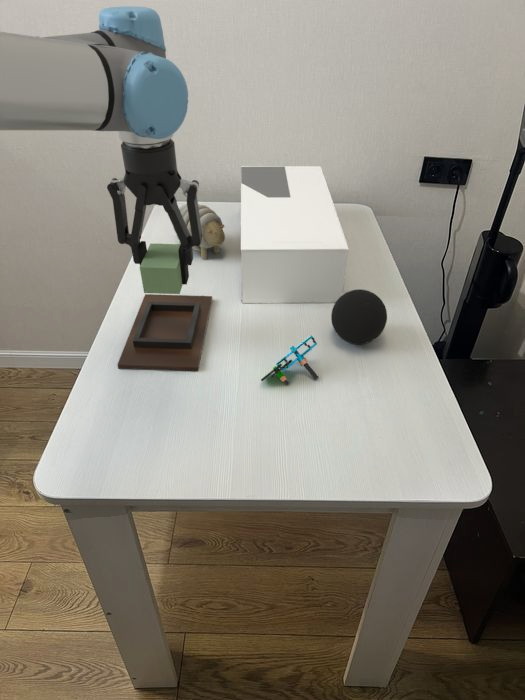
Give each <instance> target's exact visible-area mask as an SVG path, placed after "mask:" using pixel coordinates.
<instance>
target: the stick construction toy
mask: <svg viewBox="0 0 525 700" xmlns="http://www.w3.org/2000/svg"><path fill="white" fill-rule="evenodd" d="M310 340H312V343H313V344H312V345H310V344H308V343H307V342H309V341H310ZM303 345H304V346H305V347H307V349H305V351H303V352H302V353H300V352H299V351H298V350H299V349H300V348H301V347H302V346H303ZM317 345H318V343H317V341H316V339H315V337H313V335H309V337H307V338H306V339H305V340H303V341H302V342H301V343H299V345H297V346H296V347H295V346H294V345H291V346H290V347H289V350H290V352H288V353H287V354H286V355H285V356H283V357H282V358H281V359H280V360H279V361H277V362H276V363H275V366H273V367H272V370H271V371H269V372H268V373H267V374H265V375H264V376H263V377H262V378H261V379H260V381H261V382H263V381H265V380H266V379H268V377H270V376H271V378H273V377H275V376H277V377H278V378H279V380H280V381H281V382H282V383H284V384H285V386H287V385H289V384H290V382H289V381H288V377H286V376H285V374H284V372H286V371H287V369H289V368H290V367H292V366H293V365H294V364H295V363H297V362H298V364H299V365H300V366H301V367H304V368H305V370H307V372H308V373H309V374H310V375H311V377H312V378H313V379H314V380H315V381H316V380H317V379H319V375H318V374H317V373H316V372H315V371H314V369H313V368H312V367H311V366H310V364H309V363H308V362H309V360H308V359H307V357H305V355H307V354H308V353H309V352H311V351H312V350H313V349H314V348H315V347H316V346H317ZM293 354H294V356H295V357H296V358H295V359H294V360H293V359H289V360H287V359H288V358H289V357H290V356H291V355H293ZM282 362H285V363H284V364H283V363H282Z"/></svg>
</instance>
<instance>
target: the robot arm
mask: <svg viewBox="0 0 525 700" xmlns="http://www.w3.org/2000/svg"><path fill="white" fill-rule="evenodd" d="M166 52H167V47H166V45H165V38H164V32H163V26H162V21H161V17H160V15H159V14H158V12H157V11H156V10H154V9H152V8H150V7H146V6H135V5H134V6H127V5H126V6H124V5H123V6H111V7H105V8H103V9H100V11H99V13H98V29H97V30H95V31H90V32H84V33H83V32H82V33H73V34H64V35H63V34H62V35H53V36H45V37H44V36H43V37H41V36H39V35H36V36H35V35H27V34H18V33H13V32H5V31H0V131H94V132H95V131H97V132H117V133H118V138H119V140H120V141H121V142H122V143H121V144H120V149H121V154H122V161H123V166H124V177H122V178H116V177H113V178H112V179H111V180H110V181H109V183H108V184H107V186H106V189H107V191H108V193H109V195H110V197H111V200H112V205H113V206H112V207H113V213H114V221H115V228H116V229H115V231H116V237H117V242H118V243H119V244H120V245H128V246H129V247H130V249H131V254H132V260H133V263H134V264H135V265H139V266H140V265H141V263H142V261H143V259H144V256H145V254H146V252H147V250H148V247H147V242H146V241H145V240H142V241H141V239H142V232H143V227H144V221H145V216H146V210H147V206H153V205H156V206H163V210H164V211H165V213H167V215H168V218H169V220H170V222H171V224H172V228H173V230H174V229H175V231H176V233H177V234H176V233H175V234H176V237H177V236H178V237H177V239H178V238H179V239H178V240H180V241H179V244H180V242H181V244H180V247H179V250H178V252H179V260H180V268H181V277H182V284H183V285H187V284H188V281H189V277H190V273H189V266H192V264H193V261H194V252H193V251H194V250H192V247H193V246H199V245H200V244H201V241H202V237H203V235H202V228H201V221H200V215H199V208H198V204H199V202H198V191H199V186H200V183H199V181H198V180H196V179H193V180H192V181H190V180H186V179H183V178H182V176H181V175H180V173H179V171H178V166H177V165H178V164H177V155H176V147H175V141H174V140H173V139H172V138H173V137H174V134H175V133H177V131H178V130H179V129H180V128H181V126H182V125H183V123H184V121H185V119H186V116H187V112H188V106H189V105H188V104H189V90H188V85H187V81H186V79H185V77H184V74H183V73H182V71H181V69H179V67H178V66H177V65H176V64H175V63H174V62H173V61H171V60H169V58H168V59H167V53H166ZM126 189H127V190H129V191H130V192H131V194H133V196H134V197H135V198H136V199H135V207H134V215H133V221H132V227H131V233H130V231H129V229H130V228H129V221H128V212H127V211H128V210H127V202H126V195H125V192H126ZM179 189H181V190H182V194H183V196H184V197H186V204H187V208H188V214H189V220H190V226H191V233H192V236H191V235H190V233H189V231H188V228H187V226H186V224H185V221H184V219H183V217H182V214H181V212H180V210H179V208H180V207H179V205H178V201H177V197H176V196H175V195H176V193H177V191H178V190H179ZM175 231H174V232H175Z"/></svg>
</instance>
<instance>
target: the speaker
mask: <svg viewBox="0 0 525 700" xmlns="http://www.w3.org/2000/svg"><path fill="white" fill-rule="evenodd" d="M330 319H331V324H332V327H333V330H334V332H335V333H336V334H337V336H338V337H340V339H342V340H343V341H345V342H347V343H349V344H353V345H365V344H368V343H371V342H373V341H375V340H376V339H377V338H379V337H380V336H381V335H382V333H383V332H384V331H385V328H386V325H387V322H388V312H387V307H386V305H385V303H384V302H383V301H382V299H381V297H379V296H378V295H377V294H376V293H374V292H372V291H370V290H368V289H367V290H366V289H352V290H349V291H347V292H345V293H344V294H342V296H341V297H340V298H339V299H338V300H337V301H336V302H334V305H333V307H332V309H331V317H330Z"/></svg>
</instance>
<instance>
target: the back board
mask: <svg viewBox="0 0 525 700" xmlns="http://www.w3.org/2000/svg"><path fill="white" fill-rule="evenodd" d="M212 304H213V296H212V295H183V294H156V293H144V296H143V299H142V302H141V303H140V306H139V309H138V311H137V314H136V316H135V319H134V321H133V324H132V326H131V329H130V331H129V334H128V337H127V339H126V342H125V344H124V346H123V349H122V352H121V354H120V356H119V359H118V361H117V369H119V370H145V371H146V370H147V371H148V370H149V371H177V372H178V371H179V372H199V368H200V364H201V359H202V354H203V348H204V344H205V340H206V334H207V329H208V324H209V320H210V314H211V309H212Z"/></svg>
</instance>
